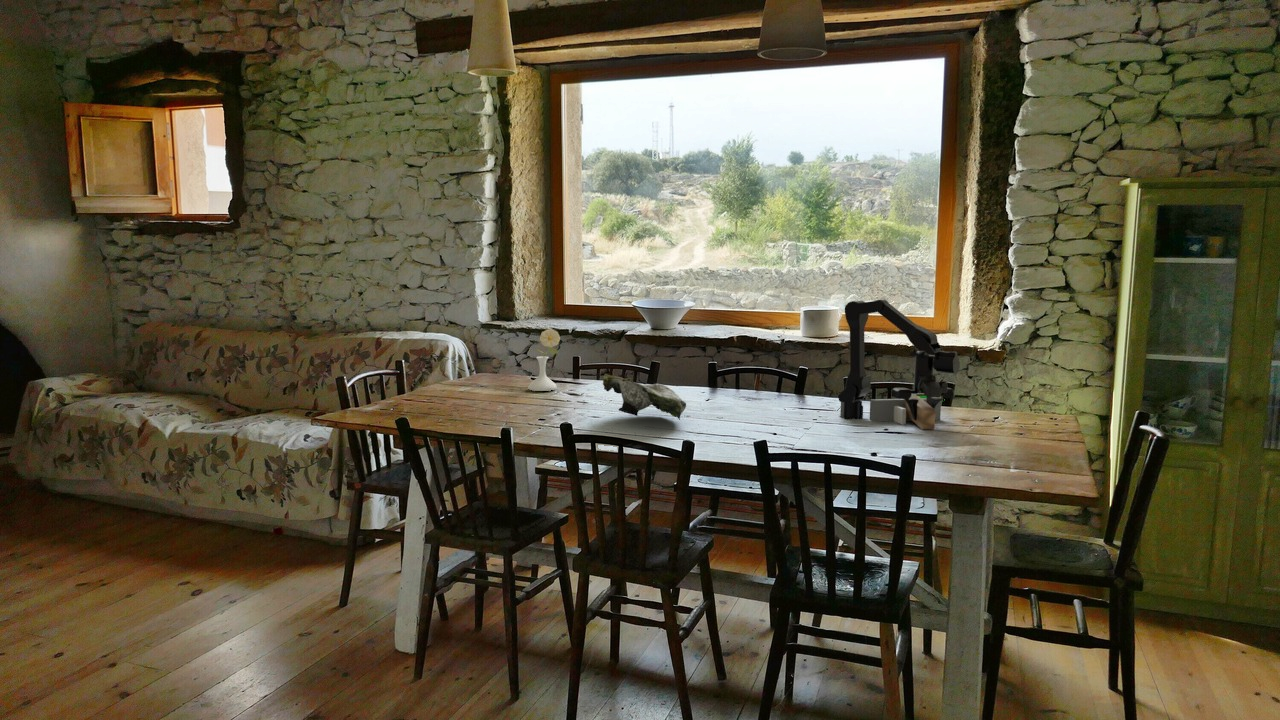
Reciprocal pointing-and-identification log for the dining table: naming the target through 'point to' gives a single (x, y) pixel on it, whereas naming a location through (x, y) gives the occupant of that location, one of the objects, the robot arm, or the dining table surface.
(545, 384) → the flower in vase
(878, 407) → the slab with two fins
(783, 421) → the dining table surface
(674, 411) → the rock
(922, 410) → the rail
